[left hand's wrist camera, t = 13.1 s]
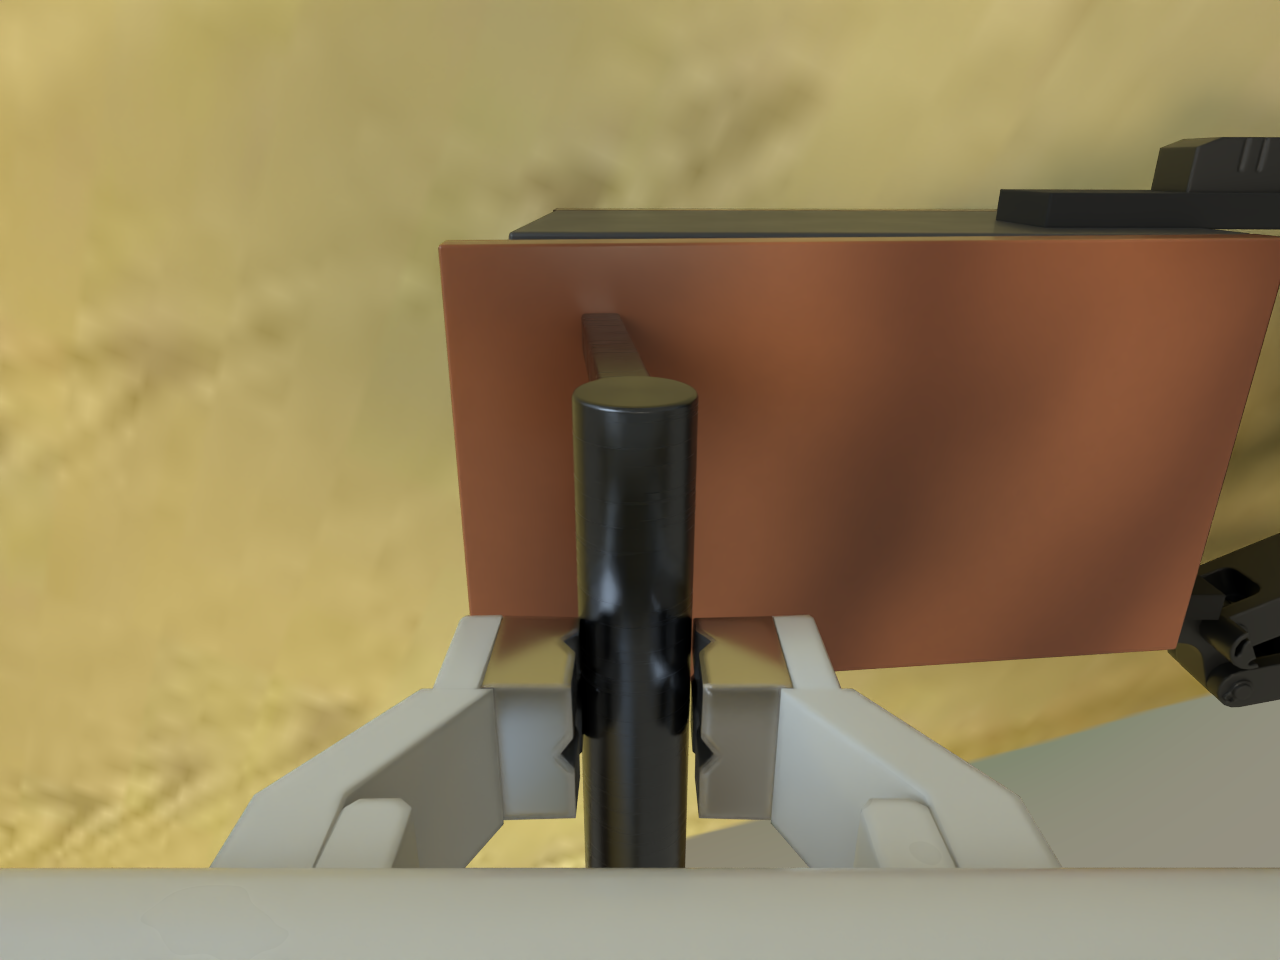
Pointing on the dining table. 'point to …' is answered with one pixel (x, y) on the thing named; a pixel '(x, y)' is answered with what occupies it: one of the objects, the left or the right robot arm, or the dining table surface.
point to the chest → (798, 224)
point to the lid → (837, 456)
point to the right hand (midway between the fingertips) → (987, 411)
